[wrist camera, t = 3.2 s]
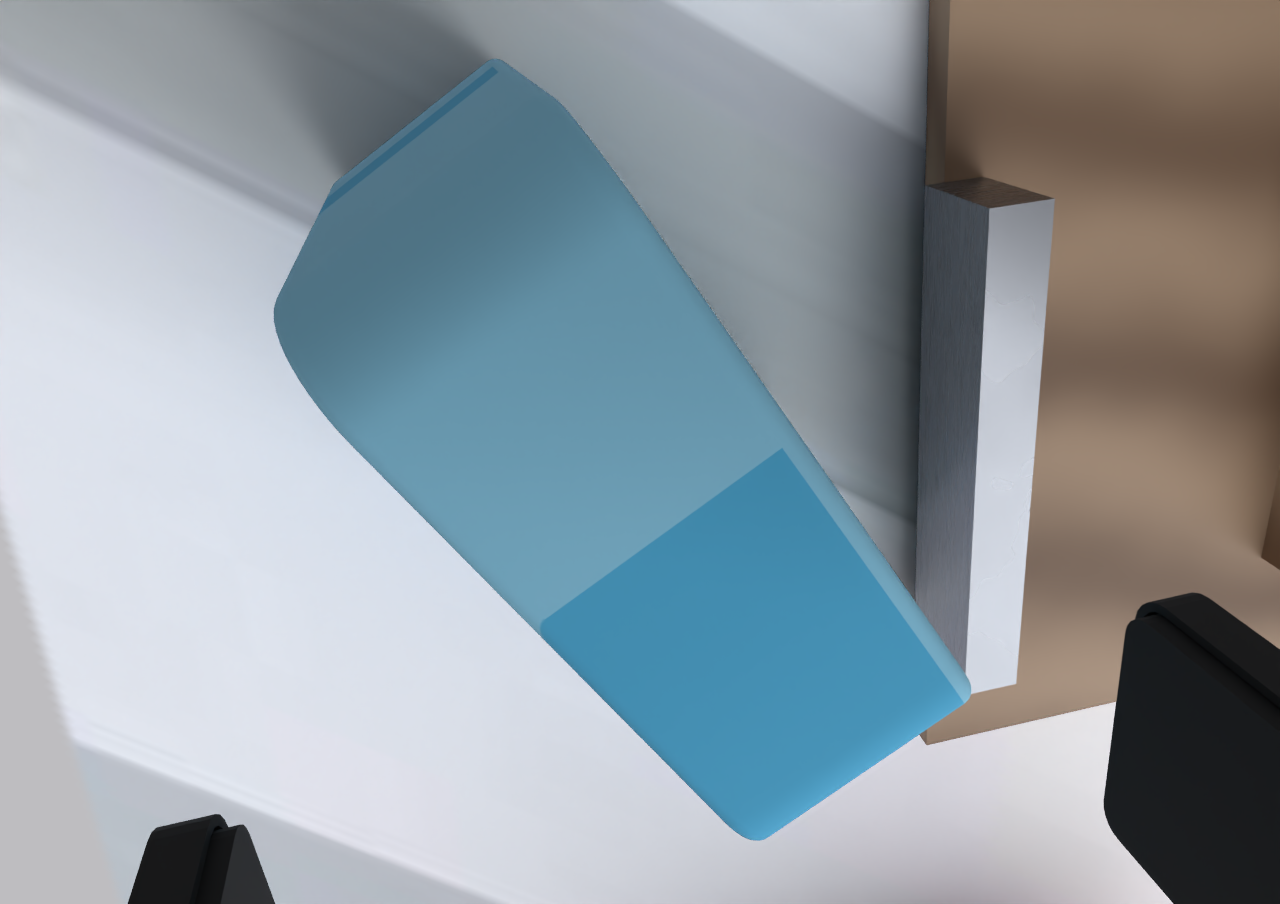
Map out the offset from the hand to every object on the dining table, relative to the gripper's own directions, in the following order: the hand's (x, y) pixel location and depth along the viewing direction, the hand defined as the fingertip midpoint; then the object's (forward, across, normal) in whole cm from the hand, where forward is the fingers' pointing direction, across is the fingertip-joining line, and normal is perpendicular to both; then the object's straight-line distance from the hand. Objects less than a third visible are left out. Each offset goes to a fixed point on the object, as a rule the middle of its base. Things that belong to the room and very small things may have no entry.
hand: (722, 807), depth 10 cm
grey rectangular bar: (+16, -10, +4) cm, 19 cm away
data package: (+16, -1, -1) cm, 16 cm away
